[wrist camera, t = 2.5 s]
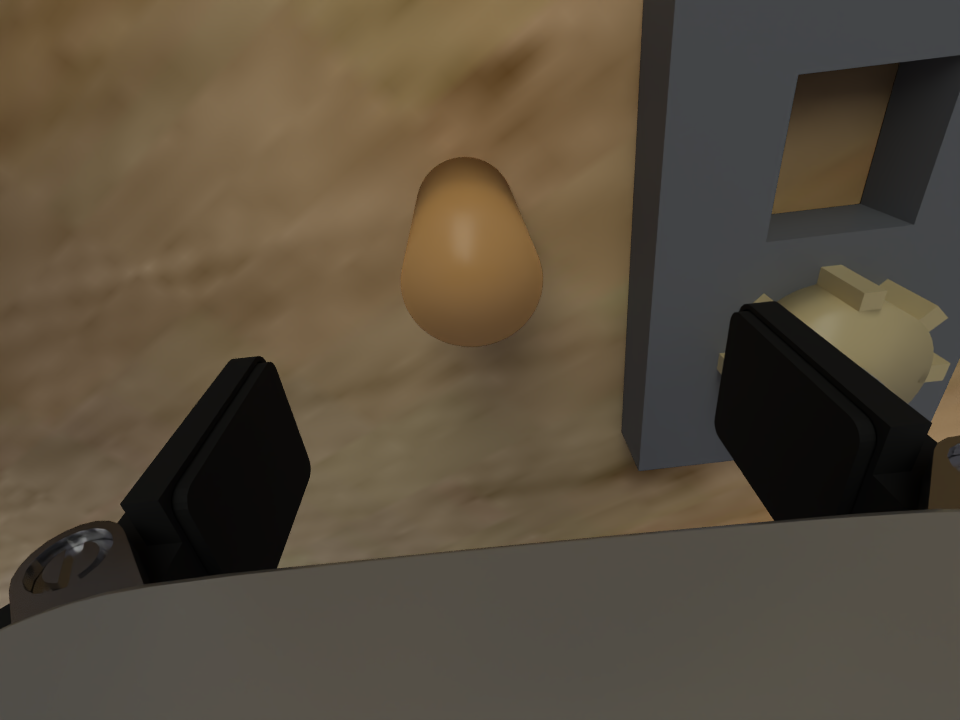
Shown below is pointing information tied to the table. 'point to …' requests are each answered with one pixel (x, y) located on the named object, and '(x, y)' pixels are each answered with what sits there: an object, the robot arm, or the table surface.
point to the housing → (793, 235)
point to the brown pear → (469, 257)
